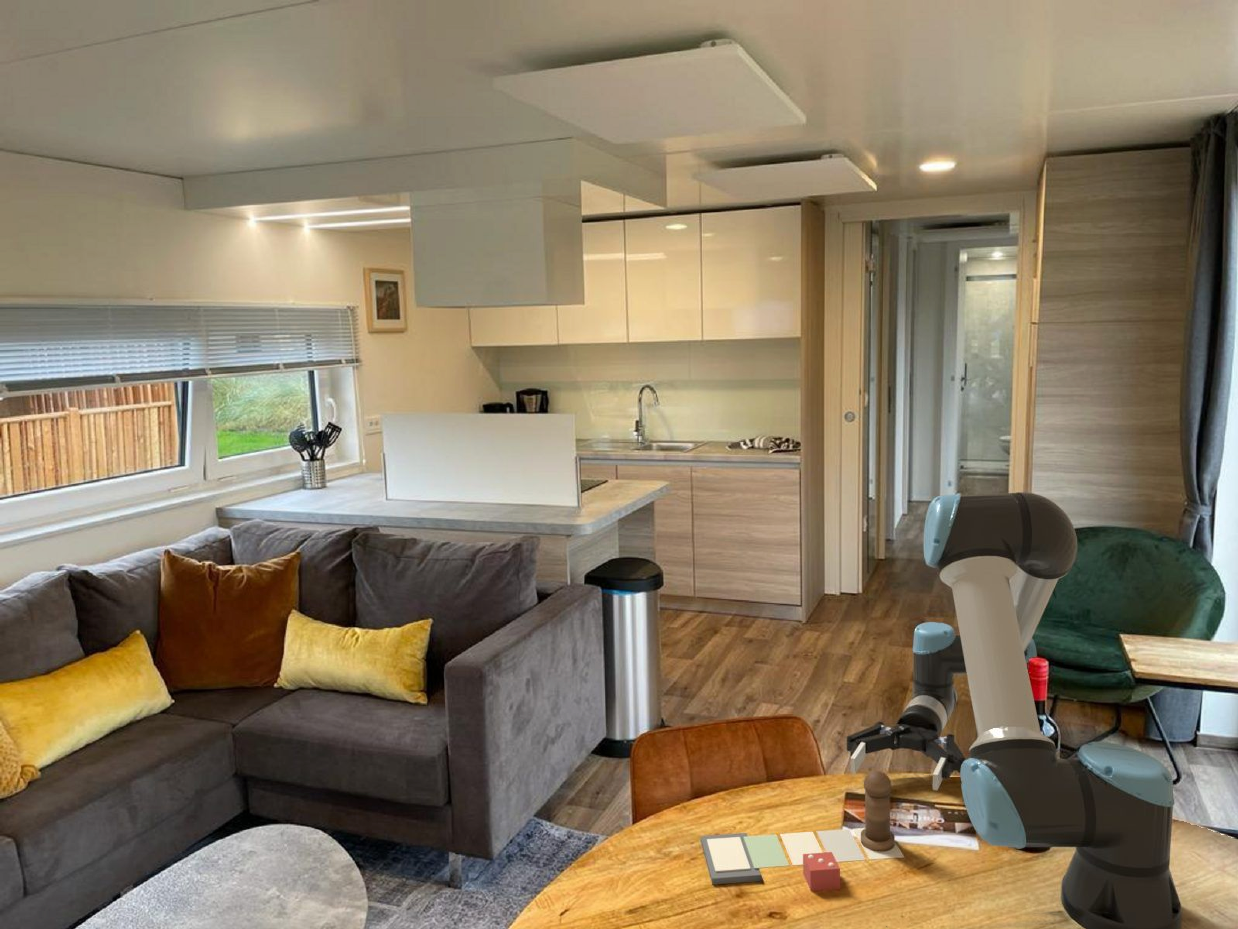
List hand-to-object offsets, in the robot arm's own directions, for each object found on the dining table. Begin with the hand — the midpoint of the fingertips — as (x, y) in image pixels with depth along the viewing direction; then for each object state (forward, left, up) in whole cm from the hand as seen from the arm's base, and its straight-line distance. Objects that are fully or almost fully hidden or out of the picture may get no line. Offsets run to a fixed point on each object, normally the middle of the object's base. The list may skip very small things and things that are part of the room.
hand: (892, 774), depth 160 cm
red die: (-17, +17, -8) cm, 25 cm away
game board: (-8, +17, -8) cm, 21 cm away
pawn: (-8, +5, -7) cm, 12 cm away
